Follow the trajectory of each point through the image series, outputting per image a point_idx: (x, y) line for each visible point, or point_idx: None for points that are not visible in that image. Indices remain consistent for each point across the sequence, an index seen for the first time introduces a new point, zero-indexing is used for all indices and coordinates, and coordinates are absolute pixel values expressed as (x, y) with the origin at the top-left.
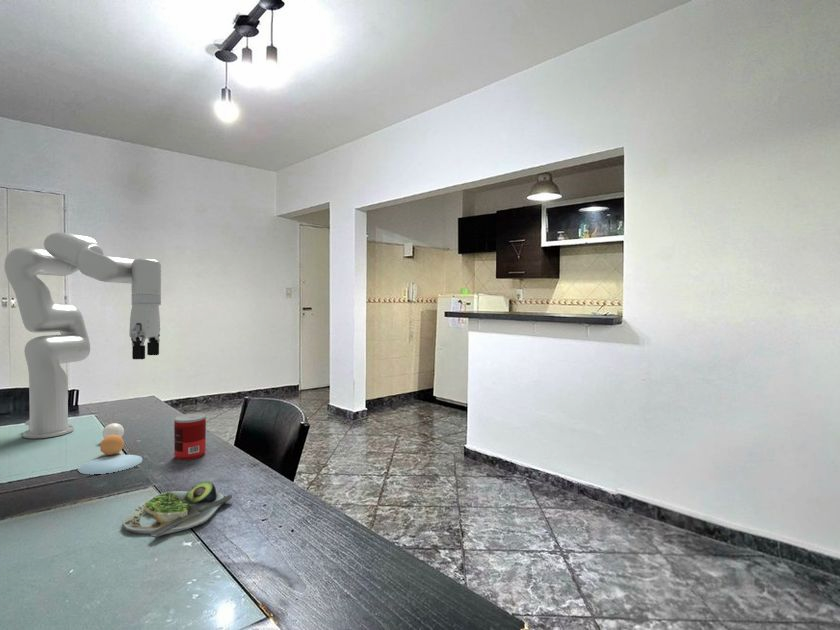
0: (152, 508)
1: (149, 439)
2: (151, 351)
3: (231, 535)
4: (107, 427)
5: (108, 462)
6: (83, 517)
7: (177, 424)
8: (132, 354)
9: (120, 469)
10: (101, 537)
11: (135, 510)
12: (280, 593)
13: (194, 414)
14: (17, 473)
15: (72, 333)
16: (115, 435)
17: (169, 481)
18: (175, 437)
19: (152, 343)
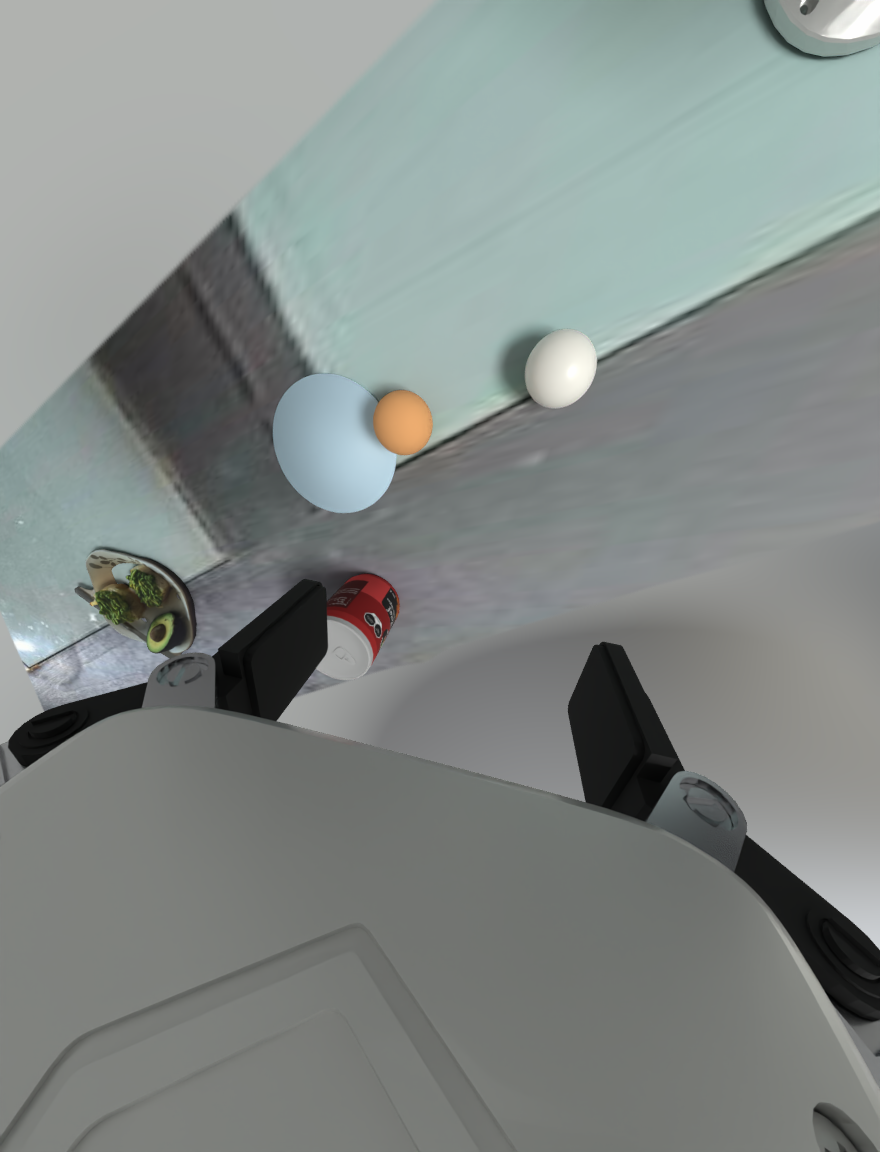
0: (128, 579)
1: (534, 487)
2: (591, 693)
3: (115, 652)
4: (543, 352)
5: (342, 438)
6: (116, 487)
7: None
8: (283, 596)
9: (296, 482)
10: (79, 530)
11: (128, 557)
12: (52, 677)
13: (364, 658)
14: (289, 191)
15: None
16: (395, 434)
17: (244, 579)
18: (331, 598)
19: (607, 781)
